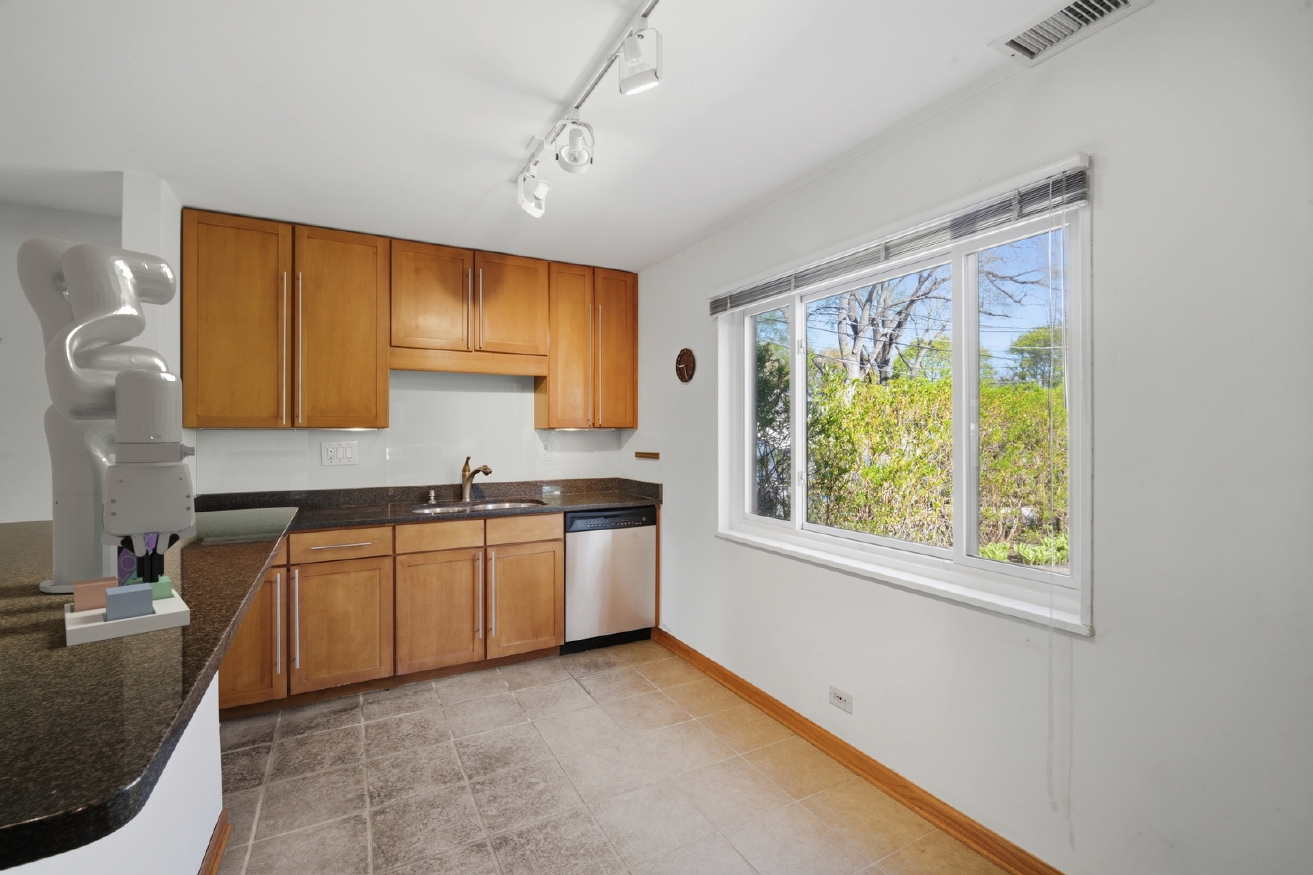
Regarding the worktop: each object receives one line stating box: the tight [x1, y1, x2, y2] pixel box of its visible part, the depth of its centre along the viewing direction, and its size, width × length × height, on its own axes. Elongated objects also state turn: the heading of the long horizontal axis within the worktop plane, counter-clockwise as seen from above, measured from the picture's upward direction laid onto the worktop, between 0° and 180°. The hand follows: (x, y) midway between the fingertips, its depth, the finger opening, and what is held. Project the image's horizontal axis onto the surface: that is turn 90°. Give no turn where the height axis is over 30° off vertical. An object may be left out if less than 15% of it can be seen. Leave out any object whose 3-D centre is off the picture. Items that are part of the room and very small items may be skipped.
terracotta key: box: [73, 576, 118, 612], centre depth 84 cm, size 4×4×4 cm
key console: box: [64, 588, 191, 647], centre depth 83 cm, size 15×12×2 cm
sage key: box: [129, 575, 173, 601], centre depth 88 cm, size 4×4×4 cm
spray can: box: [117, 533, 164, 587], centre depth 95 cm, size 6×6×20 cm
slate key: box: [106, 583, 153, 621], centre depth 81 cm, size 4×4×4 cm
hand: (150, 580), depth 88 cm, fingers closed
